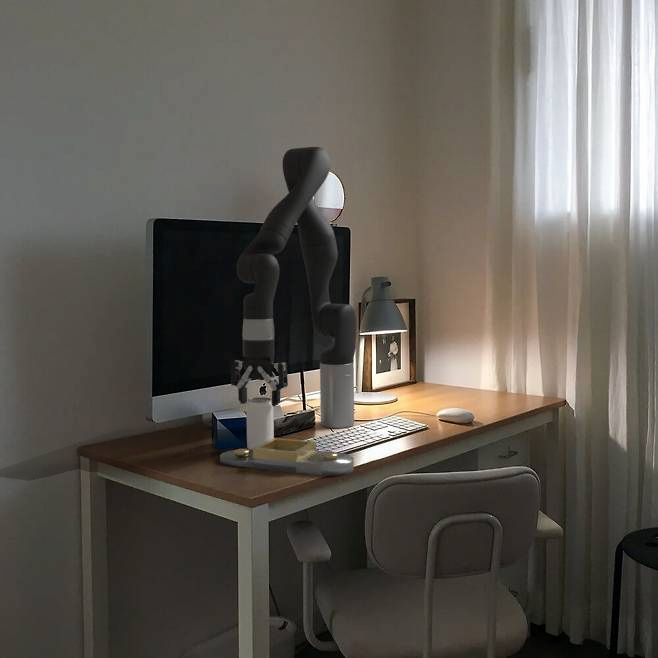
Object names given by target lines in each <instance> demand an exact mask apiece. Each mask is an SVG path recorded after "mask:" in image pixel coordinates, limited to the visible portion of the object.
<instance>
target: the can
mask: <svg viewBox="0 0 658 658" xmlns="http://www.w3.org/2000/svg"><path fill="white" fill-rule="evenodd" d="M245 408H246V443H247V444H246V447H247V448H246V449H251V450H253V448H255V447H257V446H259V445H261V444H263V443H265V442H267V441H269V440H271V439H273V438H275V437H274V435H275V434H274V433H275V431H274V429H275V428H274V424H275V423H274V406H272V398H270V397H253V398H252V397H251V398H247V403H246V407H245Z"/></svg>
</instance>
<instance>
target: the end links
mask: <svg viewBox="0 0 658 658" xmlns="http://www.w3.org/2000/svg"><path fill="white" fill-rule="evenodd" d="M354 459H355V458H354V456H352V455H350V454H348V453H343V452H334V451H325V450H324V451H322V450H317V441H311V440H303V439H301V440H300V439H289V438H288V439H287V438H279V437H274V438H273V439H271V440H269V441H267V442H265V443H263V444H261V445H259V446H257V447H255V448H253V450H251V449H249V448H238V449H232V450H228V451H225V452H224V451H223V452H222V453H221V454H220V455H219V461H220V463H221V464H222V465H226V466H230V467H231V466H232V467H240V468H250V469H258V470H270V471H277V472H278V471H279V472H288V473H296V474H303V475H307V474H308V475H314V476H324V477H334V476H344V475H348V474H350V473H352V472H353V471H354V469H355V464H354V461H355V460H354Z"/></svg>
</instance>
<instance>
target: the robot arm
mask: <svg viewBox="0 0 658 658" xmlns="http://www.w3.org/2000/svg"><path fill="white" fill-rule="evenodd" d="M330 169H331V159H330V156H329V154H328V152H327V151H326V150H325V148H323V147H320V146H308V147H307V146H305V147H296V148H290V149H288V150H286V152H285V153H284V155H283V158H282V173H283V177H284V180H285V181H284V182H285V184H286V187H287V192H288V193H287V194H286V195H285V196H284V197H283V198H282V199H280V200H279V202H278V203H277V204H276V205H275V206H273V208H272V209H271V210H270V211H269V213H268V214H267V216H266V218H265V219H264V222H263V224H262V226H261V228H260V230H259V231H258V234H257V236H256V237H255V238H254V239H253V240H251V242H250V243H249V245H248V246H247V247H246V248H245V249H244V250H243V252H242V253H241V254H240V256H239V258H238V260H237V263H236V274H237V277H238V278H239V280H240V281H241V282H242V283H246V284H255V287H254V291H253V292H252V293H248V294H246V295H245V296H244V297H243V303H242V304H243V322H242V323H243V324H242V333H241V334H242V357H243V359H242V360H239V359H236V360H232V361H231V365H230V367H231V368H230V385H231V386H235V387H237V388H238V390H237V393H238V394H237V395H238V397H237V398H238V401H239V403H240V404H242V405H243V404H248V387H246V386H247V385H248V384H249V382H250V381H252V380H253V381H254V380H259V381H265V382H266V383H267V384H268V385H269V387H271V389H272V390H271V402H272V406H273V407H277V406H279V404H280V403H281V390H282V389H284V388H287V387H289V381H288V367H287V366H288V364H287V362H285V361H283V362H280V363H279V362H277V363H276V361H275V324H274V304H273V303H274V302H273V301H274V298H275V296H276V291H277V288H278V282H279V279H280V264H279V263H278V260H277V257H275V256H274V255H277V254H279V253H281V252H282V251H283V250H284V248H285V247H286V244H287V243H288V240H289V238H290V236H291V234H292V232H293V230H294V227H295V226H297V230H298V237H299V243H300V247H301V252H302V253H301V254H302V258H303V261H304V266H305V271H306V272H305V273H306V275H307V276H306V278H307V284H308V290H309V299H310V308H311V309H310V310H311V319H312V324H313V328H314V330H315V333H316V334H317V335H319V336H320V337H323V338H333V339H334V345H333V346H332V347H331V348H328V349H326V350H323V351H321V352H320V354H319V383H320V384H319V385H320V386H319V388H320V389H319V391H320V397H319V398H320V399H319V400H320V425H321V426H322V427H325V428H331V429H332V428H333V429H340V428H341V429H342V428H349V427H352V426H355V377H354V376H355V373H354V372H355V371H354V370H355V368H354V367H355V366H354V365H355V363H354V361H355V353H356V347H357V346H356V345H357V343H356V342H357V313H356V311H355V308H354V306H352V305H351V304H348V303H347V304H346V303H331V299H330V294H329V293H330V292H329V284H330V280H331V278H332V275H333V272H334V271H335V270H334V269H335V267H336V264H337V262H338V256H339V255H338V254H339V252H338V247H337V241H336V236H335V231H334V229H333V227H332V225H331V224H330V222H329V220H328V219H327V218H326V216H325V215H324V214H323V212H322V211H321V210H320V208H319V207H318V205H317V204H316V202H315V199H314V197H315V195H316V194H317V192H318V191H319V190H320V188H321V187H322V185H323V184H324V183H325V181H326V179H327V178H328V175H329V174H330V171H331V170H330ZM242 368H243V370H244V371H245V372H244V373H243V374H242V376H241V370H242ZM274 370H276V372H277V374H278V375H277V376H276V374H275V373H274Z"/></svg>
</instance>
